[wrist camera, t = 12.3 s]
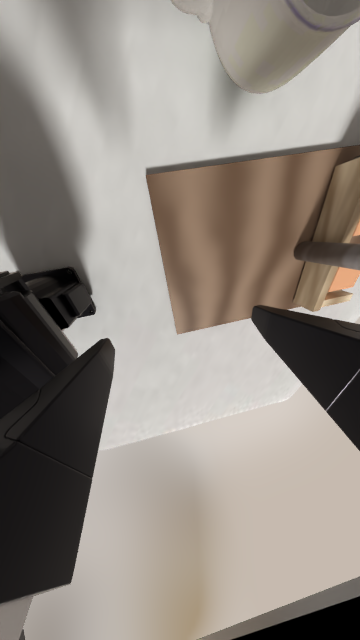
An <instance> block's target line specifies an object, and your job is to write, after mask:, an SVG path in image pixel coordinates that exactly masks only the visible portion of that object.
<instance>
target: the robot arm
mask: <svg viewBox="0 0 360 640" xmlns="http://www.w3.org/2000/svg"><path fill="white" fill-rule="evenodd" d="M68 270H70V271H71V272H72V273H69V272H68ZM90 310H92V311H93V312H91V311H90ZM95 312H96V310H95V308H94V306H93V304H92V299H91V297H90V295H89V293H88V292H87V290H86V288H85V286H84V284H83V283H81V281H80V279H79V277H78V275H77V274H76V272H75V270H74V269H73V268H71V267H66V268H60V269H55V270H49V271H44V272H38V273H33V274H27V275H21V274H20V273H19V272H18V271H17V272H12V273H9V272H8V271H4V272H0V640H25V636H24V630H22V629H23V626H24V623H25V620H26V616H27V613H28V610H29V607H30V604H31V601H32V598H33V596H36V595H39V594H42V593H45V592H48V591H51V590H54V589H57V588H60V587H63V586H66V585H69V584H70V583H71V580H72V576H73V572H74V568H75V562H76V558H77V553H78V547H79V543H80V537H81V533H82V528H83V522H84V517H85V513H86V508H87V503H88V498H89V493H90V488H91V483H92V477H93V473H94V467H95V462H96V457H97V453H98V448H99V443H100V438H101V433H102V428H103V423H104V418H105V413H106V408H107V403H108V398H109V393H110V388H111V383H112V378H113V371H114V358H115V349H114V347H113V345H112V343H111V341H110V339H108V338H105V339H101V340H99V341H98V342H97V343H96V344H94V345H93V346H92V347H91V348H89V349H88V350H87V351H86V352H85V353H83V354H82V355H81V356H80V357H78V353H77V351H76V349H75V348H74V346H73V345H72V344H71V342H70V341H69V340H68V338H67V337H66V336H65V334H64V333H63V331H64V329H65V328H68V327H69V326H70V325H71V324H72V323H73V322H74V321H75V320H76V319H77V318H80V317H85V316H90V315H94V314H95ZM251 319H252V321H253V323H254V324H255V326H256V327H257V329H258V330H259V332H260V333H261V335H262V336H263V338H264V339H265V340H266V341H267V343H268V344H269V345H270V346H271V347H272V348H273V350H274V351H275V352H276V353H277V354H278V356H279V357H280V358H281V359H282V360H283V361H284V363H285V364H286V365H287V366H288V367H289V368H290V370H291V371H292V372H293V373H294V374H295V375H296V377H297V378H298V379H299V380H300V381H301V383H302V384H303V385H304V386H305V387H306V388H307V390H308V391H309V392H310V393H311V394H312V395H313V396H314V398H315V399H316V400H317V401H318V402H319V404H320V405H321V406H322V407H323V408H324V410H326V412H327V413H328V414H329V416H330V417H331V418H332V419H333V420H334V421H335V423H336V424H337V425H338V426H339V427H340V428H341V430H342V431H343V432H344V433H345V434H346V436H347V437H348V438H349V439H350V440H351V441H352V443H353V444H354V445H355V446H356V447H357V448H358V450H359V451H360V324H355V323H350V322H345V321H340V320H333V319H330V318H325V317H320V316H315V315H310V314H305V313H300V312H295V311H290V310H285V309H280V308H275V307H270V306H265V305H256V306H254V307H253V309H252V316H251ZM77 357H78V358H77ZM197 640H360V577H358V578H355V579H352V580H350V581H347V582H344V583H342V584H339V585H337V586H334V587H332V588H329V589H326V590H324V591H322V592H319V593H316V594H314V595H311V596H308V597H306V598H303V599H301V600H298V601H296V602H293V603H290V604H288V605H285V606H282V607H280V608H277V609H275V610H272V611H270V612H267V613H264V614H262V615H259V616H257V617H254V618H251V619H249V620H246V621H244V622H241V623H239V624H236V625H233V626H231V627H228V628H226V629H223V630H220V631H218V632H215V633H213V634H210V635H208V636H205V637H202V638H200V639H197Z"/></svg>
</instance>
